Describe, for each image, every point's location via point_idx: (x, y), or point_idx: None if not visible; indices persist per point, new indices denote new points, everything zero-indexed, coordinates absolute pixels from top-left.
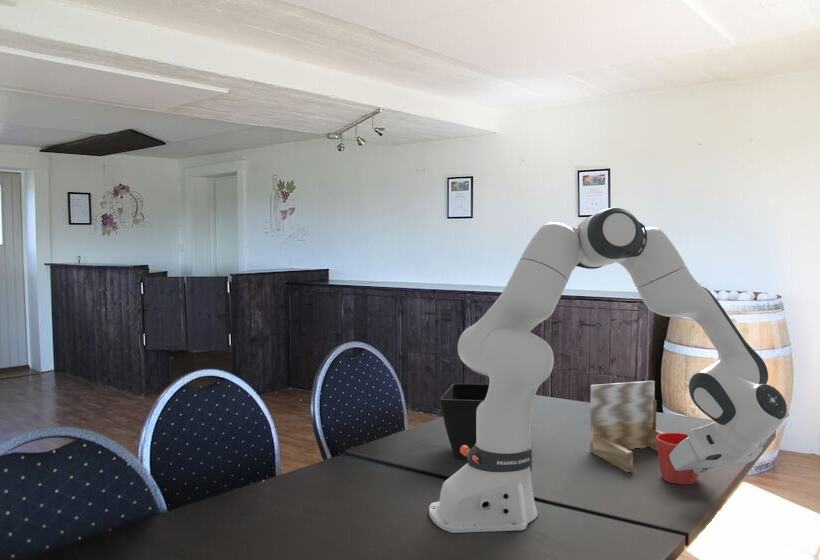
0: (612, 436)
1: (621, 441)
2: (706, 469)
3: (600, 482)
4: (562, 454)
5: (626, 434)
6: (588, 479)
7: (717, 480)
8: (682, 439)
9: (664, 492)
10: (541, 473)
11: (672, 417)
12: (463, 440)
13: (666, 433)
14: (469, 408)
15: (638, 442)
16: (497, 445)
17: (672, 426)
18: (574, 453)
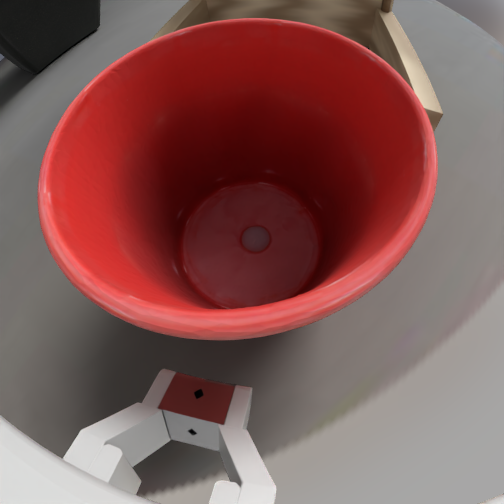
0: (250, 2)
1: (280, 16)
2: (212, 447)
3: (31, 185)
4: (138, 40)
5: (295, 2)
6: (33, 161)
7: (397, 330)
8: (346, 77)
9: (81, 335)
10: (21, 118)
11: (476, 28)
12: (3, 54)
13: (257, 21)
14: None
15: (333, 27)
16: None
17: (466, 36)
18: None
